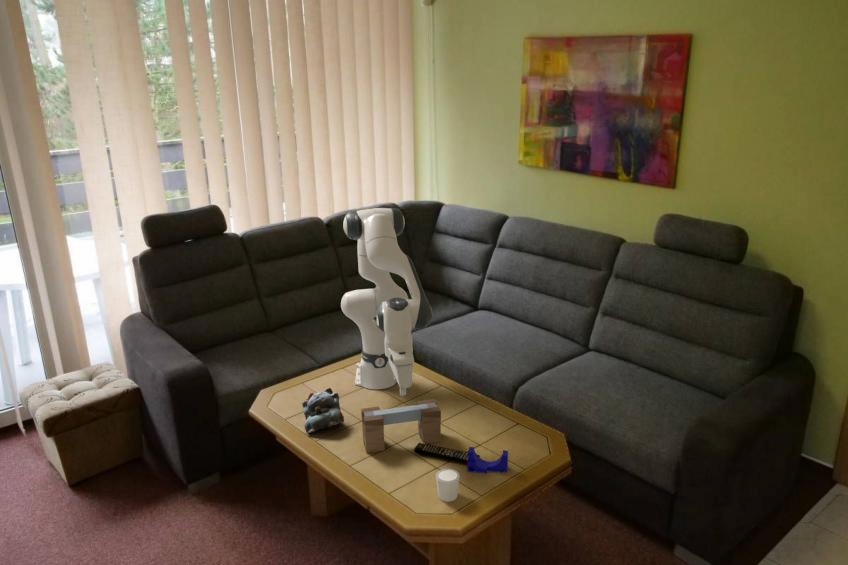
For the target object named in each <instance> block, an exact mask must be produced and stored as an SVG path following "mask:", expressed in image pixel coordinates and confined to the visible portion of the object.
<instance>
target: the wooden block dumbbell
mask: <svg viewBox="0 0 848 565" xmlns="http://www.w3.org/2000/svg"><path fill="white" fill-rule="evenodd" d="M429 403H435V404H436V405H437V401H436V399H434V398H433V399H424V400H418V401H417V402H416V405H422V404H429ZM377 410H381V408H380V406H372V407H364V408H361V409H360V414H361V415H360V416H361V425H362V426H361V427H362V429H361V430H362V442H363V446H364V449H365V453H366V454H367V453H375V452H381V451H385V450H386V449H385V448H386V447H385V432H384V431H385V427H384V426H385V425H384V419H383V416H382V415H377V416H370V417H364V412H370V411H377ZM441 422H442V410H441V408H440V406H437V407H435V408H428V409H421V420H417V425H418V426H417V427H418V436H419V437H420V440H421V442H423V443H430V444H436V443H441V442H442V440H441V439H442V436H441V435H442V434H441V432H442V431H441V430H442V427H441V426H442V425H441ZM423 443H422V444H423Z"/></svg>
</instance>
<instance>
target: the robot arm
mask: <svg viewBox="0 0 848 565" xmlns="http://www.w3.org/2000/svg"><path fill="white" fill-rule="evenodd" d="M405 224H406V223H405V217H404V213H403V212H402V210H401V209H400V208H396V207H390V208H388V207H386V208H385V207H372V208H367V209H361V210H350V211H348V212H347V213H346V214H345V215H344V219H343V225H342V227H343V232H344V233H345V235H346V237H347V238H348V239H350V240H354V241H357V246H356V247H357V263H358V264H357V265H358V274H359V276H361V277H362V278H363V279H365V280H367V281H370V282H371V283H374V285H375V287H374V288H363V289H362V288H361V289H355V290H350V291H347V292H345V293H344V294H343V296H342V298H341V301H340V308H341V311H342V312H343V314H344V315H345V316H346V317H347V318H349V319H350V320H351V321H352V322H354V323H355V324H356V325H357V327H358V329H359V331H360V334H361V342H362V349H361V359H360V362H357V363H356V372H355V379H354V385H355V386H358V387H363V388H366V389H368V390H384V389H389V388H391V387H393V386H394V385H396V383H397V384H398V387H399V395H400V396H401V397H404V396H407V389H409V388H411V387H412V383H413V364H414V363H415V357H414V354H413V353H414V352H413V351H414V350H413V336H412V329H414V330H415V329H425V328H426V327H428V325H430V324H431V322H432V320H433V309H432V307H431V303H430V301H429V300H428V297H427V296H426V294H425V291H424V289H423V286H422V283H421V281H420V278H419V275H418V272H417V270H416V267H415V264H414V262H413V260H412V258H411V257H410V256H409V255H408V254H405V253H404V252H403V251H402V249H401V248H400V246H399V244H398V239H397V237H398V236H400V235H401V234H402V233H403V232H404V229H405ZM391 273H392V274H395V275H398V276H400V277H401V278H402V279H404V281H405V283H406V285H407V289H408V292H409V295H410V297H411V298H409V296H408V294H407V292H406V291H405V290H404V288H402V287H401V286H399V285H398V284H396V282H395V281H394V280H393V278H392V276H391Z"/></svg>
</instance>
